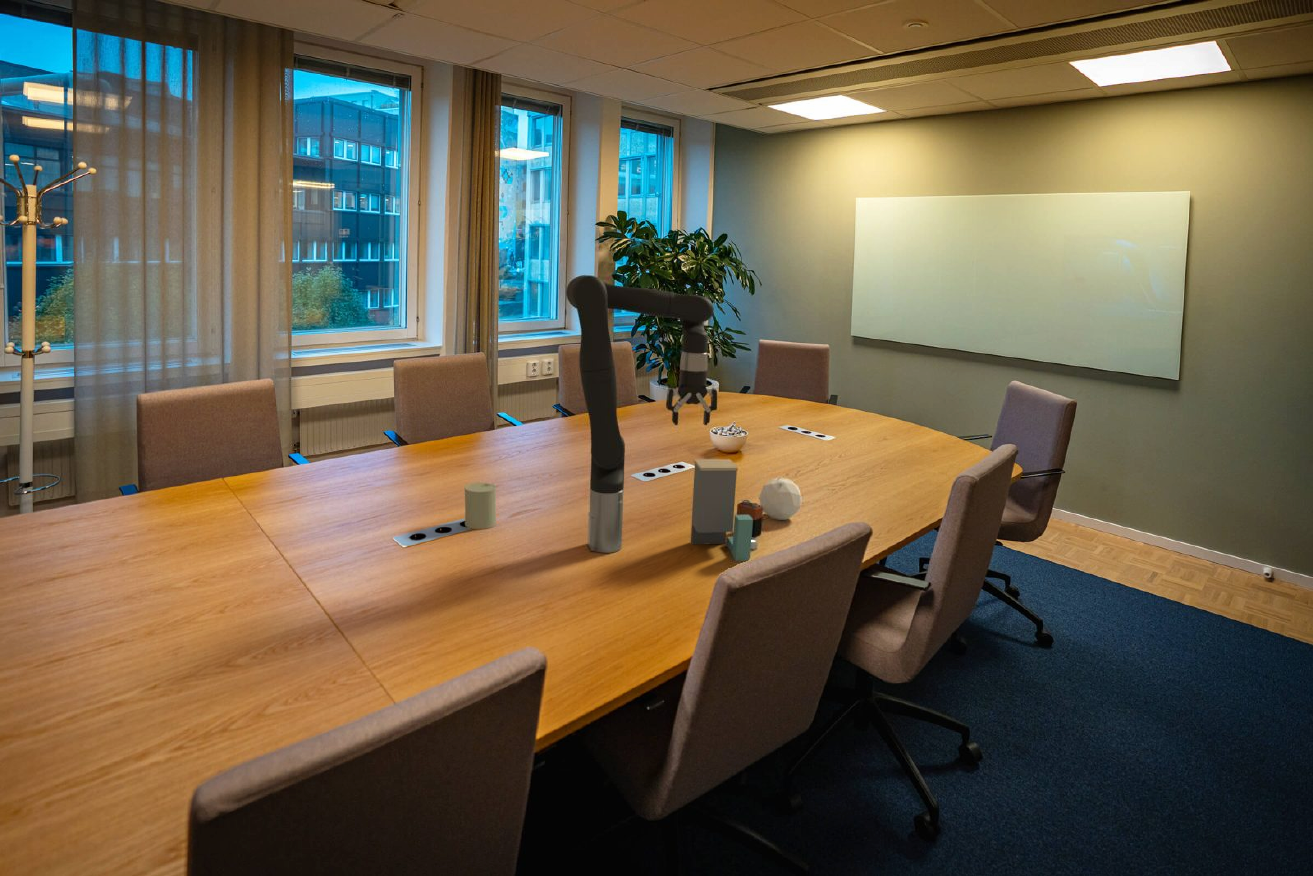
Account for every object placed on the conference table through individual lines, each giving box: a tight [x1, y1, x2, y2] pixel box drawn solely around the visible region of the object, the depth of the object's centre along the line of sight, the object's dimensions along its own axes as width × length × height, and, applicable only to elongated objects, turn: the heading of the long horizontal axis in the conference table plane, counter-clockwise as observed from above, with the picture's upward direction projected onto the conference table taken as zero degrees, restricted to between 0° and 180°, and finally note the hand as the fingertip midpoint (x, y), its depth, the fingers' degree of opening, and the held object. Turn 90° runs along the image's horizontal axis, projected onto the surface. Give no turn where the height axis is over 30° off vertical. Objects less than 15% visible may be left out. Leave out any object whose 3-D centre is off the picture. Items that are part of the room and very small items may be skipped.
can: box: [464, 482, 497, 530], centre depth 238 cm, size 9×9×12 cm
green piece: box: [726, 514, 753, 562], centre depth 225 cm, size 4×12×12 cm, turn 10°
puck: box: [751, 537, 759, 552], centre depth 230 cm, size 5×5×2 cm
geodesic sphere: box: [758, 476, 803, 521], centre depth 254 cm, size 14×14×14 cm
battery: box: [736, 499, 764, 538], centre depth 240 cm, size 4×7×10 cm, turn 48°
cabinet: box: [690, 458, 739, 545], centre depth 226 cm, size 10×8×25 cm
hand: (690, 424), depth 228 cm, fingers open, 8 cm apart
